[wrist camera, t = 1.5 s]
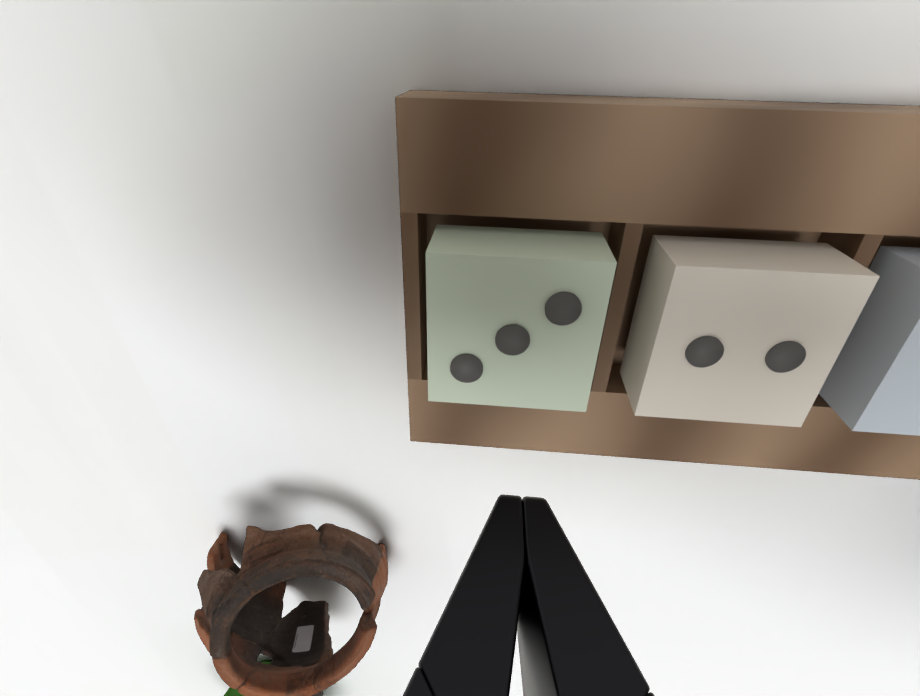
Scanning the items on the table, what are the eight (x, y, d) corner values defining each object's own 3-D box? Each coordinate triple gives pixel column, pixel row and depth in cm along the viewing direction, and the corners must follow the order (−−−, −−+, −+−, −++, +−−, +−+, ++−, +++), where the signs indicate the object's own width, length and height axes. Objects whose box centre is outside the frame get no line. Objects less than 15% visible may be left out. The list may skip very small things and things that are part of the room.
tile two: (827, 243, 14) (882, 277, 12) (765, 381, 17) (802, 429, 15) (652, 234, 14) (677, 267, 12) (619, 371, 17) (635, 417, 15)
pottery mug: (186, 491, 26) (148, 594, 19) (358, 443, 29) (385, 517, 22) (243, 660, 30) (230, 806, 22) (392, 603, 33) (425, 716, 25)
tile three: (601, 232, 15) (617, 264, 12) (577, 368, 17) (586, 414, 15) (436, 224, 15) (425, 253, 13) (437, 359, 18) (427, 402, 15)
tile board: (1127, 112, 13) (1237, 124, 11) (904, 437, 20) (950, 482, 18) (410, 89, 15) (395, 97, 13) (419, 402, 21) (410, 440, 19)
